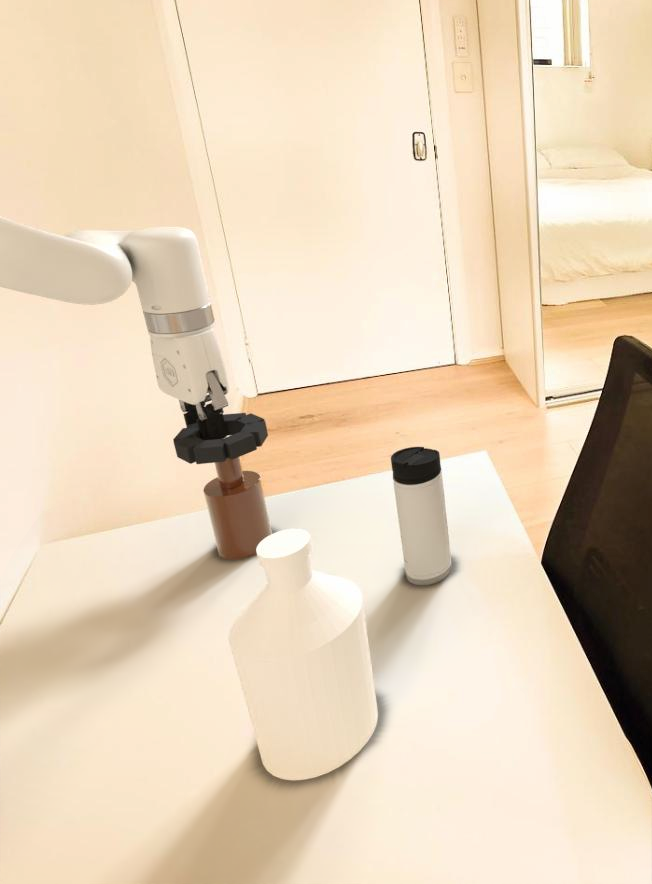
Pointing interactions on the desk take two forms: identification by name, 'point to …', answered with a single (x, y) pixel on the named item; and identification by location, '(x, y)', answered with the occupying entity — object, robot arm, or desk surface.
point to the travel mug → (421, 514)
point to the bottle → (304, 663)
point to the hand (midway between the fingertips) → (208, 436)
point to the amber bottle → (237, 510)
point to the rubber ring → (222, 440)
